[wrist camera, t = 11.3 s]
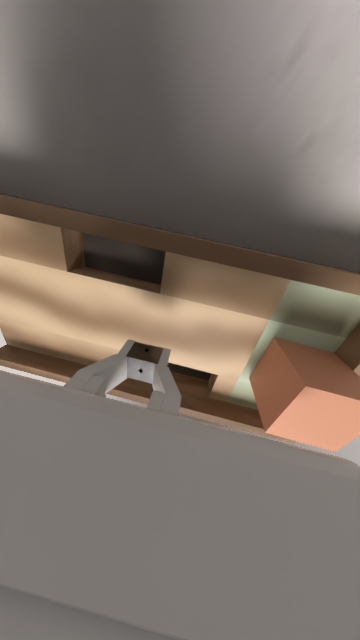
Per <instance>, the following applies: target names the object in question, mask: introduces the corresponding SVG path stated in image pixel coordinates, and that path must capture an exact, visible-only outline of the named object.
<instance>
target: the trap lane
mask: <svg viewBox="0 0 360 640" xmlns="http://www.w3.org/2000/svg"><path fill="white" fill-rule="evenodd" d="M0 328H1V331H2V333H3V336H4V338H5V341H6V343H7V345H5V346H3V347H1V348H0V365H1V366H5V367H9V368H13V369H16V370H20V371H24V372H28V373H31V374H35V375H39V376H43V377H46V378H50V379H54V380H57V381H62V382H65V383H67V382H68V381H69V380H70V379H71V378H72V377H73V376H74V375H75V373H76V372H77V371H78V370H80V369H82V368H84V367H87V366H89V365H91V364H93V363H96V362H98V361H100V360H102V359H105V358H107V357H109V356H112V355H114V354H118V353H119V351H120V350H121V348H122V347H123V346H124V344H125V343H126V341H127V340H129V339H131V340H134V341H139V342H142V343H146V344H150V345H154V346H158V347H162V348H167V349H171V354H170V358H169V363H168V367H169V370H170V372H171V374H172V376H173V378H174V381H175V383H176V385H177V387H178V390H179V392H180V394H181V396H182V397H181V403H180V410H179V413H181V414H185V415H189V416H193V417H196V418H200V419H204V420H207V421H211V422H215V423H218V424H222V425H226V426H230V427H233V428H237V429H241V430H245V431H248V432H252V433H256V434H260V435H264V436H267V437H271V438H275V439H278V440H282V441H286V442H290V443H295V442H296V441H294V440H290V439H286V438H283V437H279V436H276V435H272V434H268V433H265V431H264V428H263V424H262V421H261V417H260V414H259V410H258V407H257V404H256V400H255V397H254V393H253V390H252V386H251V383H250V380H249V377H250V376H251V374H252V372H253V371H254V369H255V367H256V366H257V364H258V362H259V361H260V359H261V357H262V356H263V354H264V352H265V351H266V349H267V348H268V346H269V344H270V343H271V341H272V339H273V338H274V337H276V338H280V339H284V340H287V341H291V342H295V343H299V344H303V345H307V346H310V347H314V348H318V349H322V350H326V351H330V352H334V353H335V354H336V355H337V356H338V357H339V358H340V359H341V360H342V361H343V362H345V363H346V364H347V365H348V366H349V367H350V368H351V369H352V370H353V371H354V372H355V373H356V374H357V375H359V376H360V273H355V272H351V271H346V270H342V269H337V268H333V267H328V266H324V265H319V264H315V263H310V262H306V261H301V260H297V259H292V258H288V257H283V256H279V255H274V254H270V253H265V252H261V251H256V250H252V249H247V248H243V247H238V246H234V245H229V244H225V243H220V242H216V241H211V240H207V239H202V238H198V237H193V236H189V235H184V234H180V233H175V232H171V231H166V230H162V229H157V228H153V227H148V226H144V225H139V224H135V223H130V222H126V221H121V220H117V219H112V218H108V217H103V216H99V215H94V214H90V213H85V212H81V211H76V210H72V209H67V208H63V207H58V206H54V205H49V204H45V203H40V202H36V201H31V200H27V199H22V198H18V197H13V196H9V195H4V194H0ZM153 391H154V390H153V386H152V384H151V383H147V382H144V381H140V380H136V379H131V378H127V379H125V380H124V381H123V382H121V383H120V384H119V385H117V386H116V387H114V388H113V389H112V390H110V391H109V392H107V393H106V394H110V395H114V396H118V397H121V398H125V399H129V400H132V401H136V402H140V403H144V404H147V405H148V403H149V400H150V397H151V394H152V392H153Z"/></svg>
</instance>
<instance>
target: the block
mask: <svg viewBox="0 0 360 640" xmlns="http://www.w3.org/2000/svg"><path fill="white" fill-rule="evenodd" d="M249 380H250V383H251V386H252V390H253V393H254V397H255V400H256V404H257V407H258V410H259V414H260V417H261V421H262V424H263V428H264V431H265V433H268V434H272V435H276V436H279V437H283V438H286V439H290V440H294V441H297V442H301V443H304V444H308V445H312V446H315V447H319V448H323V449H326V450H330V451H333V452H336V451H338V450H339V449H341V448H342V447H343V446H345V445H346V444H348V443H349V442H351V441H352V440H354V439H355V438H357V437H358V436H359V435H360V376H359V375H357V374H356V373H355V372H354V371H353V370H352V369H351V368H350V367H349V366H348V365H347V364H346V363H345V362H343V361H342V360H341V359H340V358H339V357H338V356H337V355H336V354H335V353H334V352H330V351H326V350H322V349H318V348H314V347H310V346H307V345H303V344H299V343H295V342H291V341H287V340H284V339H280V338H276V337H274V338H273V339H272V341H271V343H270V344H269V346H268V348H267V349H266V351H265V352H264V354H263V356H262V357H261V359H260V361H259V362H258V364H257V366H256V367H255V369H254V371H253V372H252V374H251V376H250V377H249Z"/></svg>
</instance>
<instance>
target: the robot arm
mask: <svg viewBox="0 0 360 640" xmlns="http://www.w3.org/2000/svg"><path fill="white" fill-rule="evenodd" d="M170 354H171V349H167V348H162V347H158V346H154V345H150V344H146V343H142V342H139V341H134V340H131V339H129V340H127V341H126V343H125V344H124V346H123V347H122V348H121V350H120V351H119V353H118V354H114V355H112V356H109V357H107V358H105V359H102V360H100V361H98V362H96V363H93V364H91V365H89V366H87V367H84V368H82V369H80V370H78V371H77V372H76V373H75V375H74V376H73V377H72V378H71V379H70V380H69V381H68V382H67V383H66V384H65V385H64V387H63V386H59V385H55V384H51V383H47V382H44V381H40V380H35V379H32V378H28V377H24V376H20V375H16V374H12V373H9V372H5V371H0V640H360V467H359V466H358V465H357V464H355V463H354V462H352V461H350V460H347V459H344V458H340V457H337V456H333V455H329V454H324V453H321V452H317V451H312V450H308V449H305V448H301V447H297V446H293V445H289V444H285V443H281V442H277V441H273V440H269V439H266V438H261V437H258V436H254V435H250V434H246V433H242V432H239V431H235V430H231V429H227V428H223V427H219V426H215V425H211V424H207V423H204V422H200V421H196V420H192V419H187V418H184V417H180V416H179V410H180V403H181V397H182V396H181V394H180V392H179V390H178V387H177V385H176V383H175V381H174V378H173V376H172V374H171V372H170V370H169V367H168V363H169V358H170ZM127 378H131V379H136V380H140V381H144V382H147V383H151V384H152V386H153V390H154V391H153V392H152V394H151V397H150V400H149V403H148V406H147V408H144V407H141V406H137V405H133V404H129V403H125V402H122V401H118V400H114V399H110V398H106V396H105V394H106V393H107V392H109V391H110V390H112V389H113V388H114V387H116V386H117V385H119V384H120V383H121V382H123V381H124V380H125V379H127Z"/></svg>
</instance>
